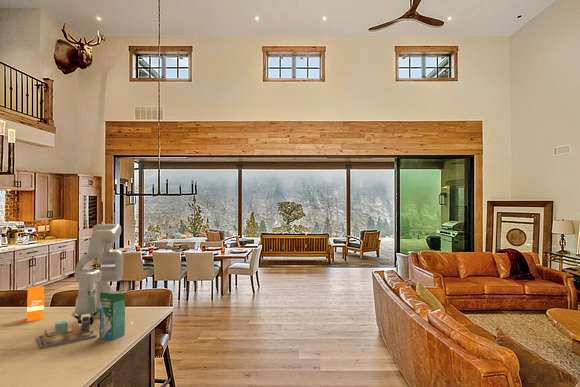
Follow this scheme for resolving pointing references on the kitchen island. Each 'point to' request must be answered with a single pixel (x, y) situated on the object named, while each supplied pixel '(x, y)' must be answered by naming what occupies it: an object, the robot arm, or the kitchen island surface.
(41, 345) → the lane frame
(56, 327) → the teal cube
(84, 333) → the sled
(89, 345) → the kitchen island surface
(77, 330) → the rounded peach cylinder
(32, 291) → the orange juice
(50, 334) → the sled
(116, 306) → the milk carton
